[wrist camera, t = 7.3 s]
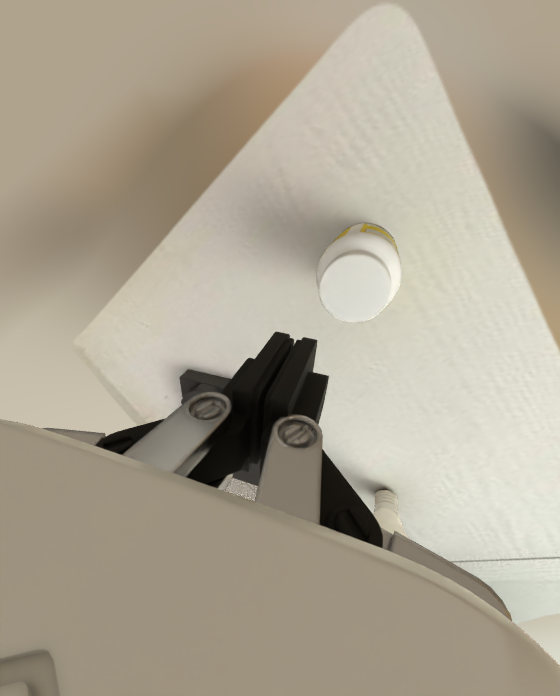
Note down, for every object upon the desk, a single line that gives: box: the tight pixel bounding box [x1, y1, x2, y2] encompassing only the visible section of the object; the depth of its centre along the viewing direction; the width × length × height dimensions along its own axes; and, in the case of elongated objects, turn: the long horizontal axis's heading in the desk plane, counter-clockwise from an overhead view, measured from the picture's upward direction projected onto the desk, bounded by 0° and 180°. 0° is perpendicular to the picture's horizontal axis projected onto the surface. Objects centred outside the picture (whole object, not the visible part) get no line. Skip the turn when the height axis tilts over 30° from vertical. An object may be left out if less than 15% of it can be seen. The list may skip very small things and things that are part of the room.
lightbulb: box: [373, 490, 410, 539], centre depth 31 cm, size 6×6×11 cm
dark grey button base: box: [180, 370, 260, 486], centre depth 37 cm, size 16×14×4 cm
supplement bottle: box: [316, 223, 402, 323], centre depth 20 cm, size 5×5×10 cm
